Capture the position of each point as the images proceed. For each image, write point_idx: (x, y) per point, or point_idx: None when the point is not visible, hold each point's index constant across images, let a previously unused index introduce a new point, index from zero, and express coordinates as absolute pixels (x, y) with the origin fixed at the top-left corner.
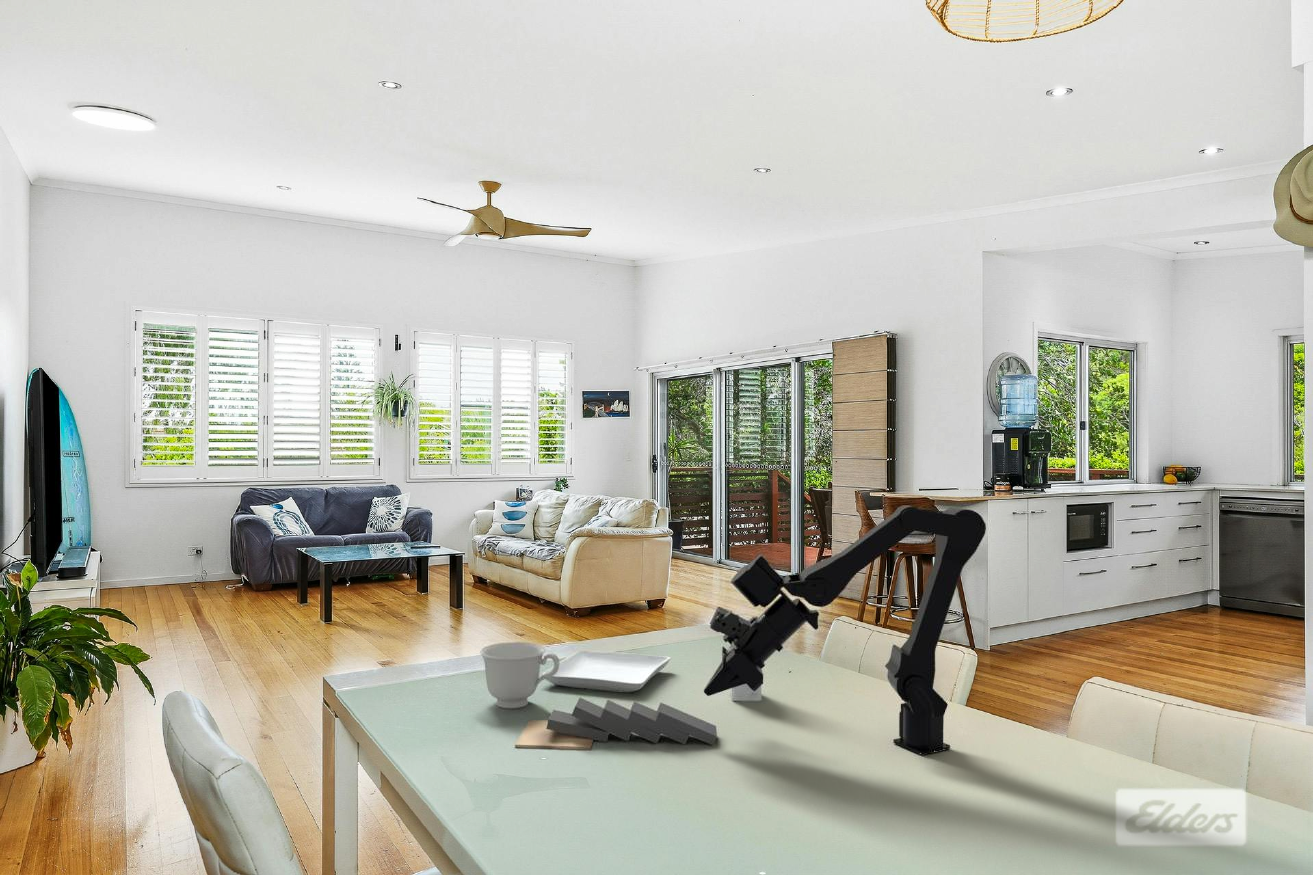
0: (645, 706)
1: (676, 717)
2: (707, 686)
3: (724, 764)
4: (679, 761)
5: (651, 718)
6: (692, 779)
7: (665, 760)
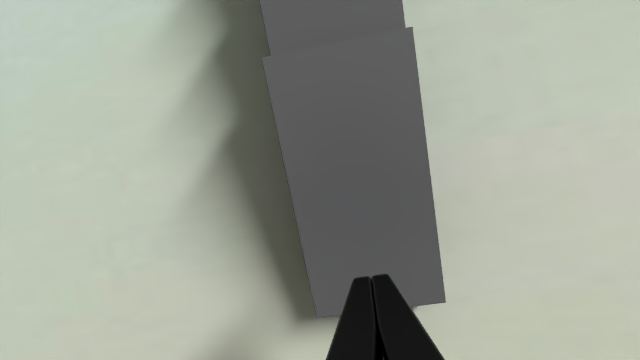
0: None
1: (301, 140)
2: (343, 313)
3: (153, 352)
4: (154, 202)
5: (276, 37)
6: (28, 263)
7: (155, 157)
